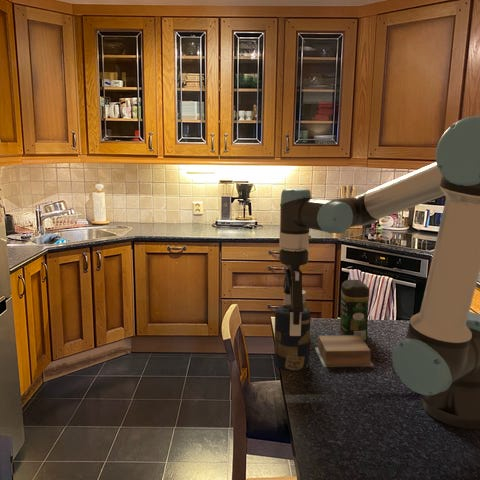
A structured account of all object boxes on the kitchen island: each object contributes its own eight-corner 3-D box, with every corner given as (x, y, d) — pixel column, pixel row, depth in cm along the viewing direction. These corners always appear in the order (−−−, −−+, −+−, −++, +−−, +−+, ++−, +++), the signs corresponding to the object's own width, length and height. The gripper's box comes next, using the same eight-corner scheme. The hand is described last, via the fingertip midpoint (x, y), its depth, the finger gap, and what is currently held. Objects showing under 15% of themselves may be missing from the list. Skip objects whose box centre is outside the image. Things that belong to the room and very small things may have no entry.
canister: (289, 357, 138) (290, 297, 135) (316, 368, 131) (318, 304, 128) (266, 368, 131) (267, 304, 128) (294, 379, 125) (295, 313, 121)
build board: (377, 377, 126) (378, 372, 126) (321, 378, 126) (321, 373, 125) (359, 349, 144) (359, 344, 144) (309, 349, 143) (309, 345, 143)
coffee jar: (336, 333, 156) (338, 277, 153) (361, 332, 157) (363, 277, 153) (344, 345, 147) (346, 286, 143) (370, 344, 147) (373, 285, 144)
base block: (370, 364, 130) (370, 350, 130) (325, 365, 130) (326, 351, 129) (359, 348, 141) (359, 335, 140) (318, 348, 141) (318, 335, 140)
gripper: (317, 259, 113) (313, 344, 117) (301, 238, 138) (298, 309, 142) (285, 259, 113) (283, 344, 117) (274, 238, 137) (273, 309, 142)
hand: (291, 325), depth 129 cm, fingers open, 13 cm apart
